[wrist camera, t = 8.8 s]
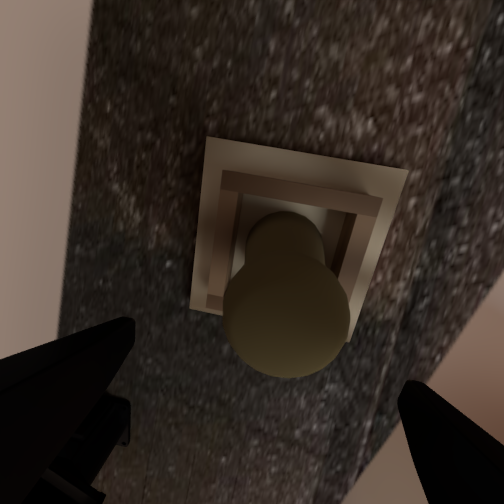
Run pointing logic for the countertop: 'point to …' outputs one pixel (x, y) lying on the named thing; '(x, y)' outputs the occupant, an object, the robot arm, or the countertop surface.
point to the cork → (285, 300)
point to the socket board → (293, 200)
